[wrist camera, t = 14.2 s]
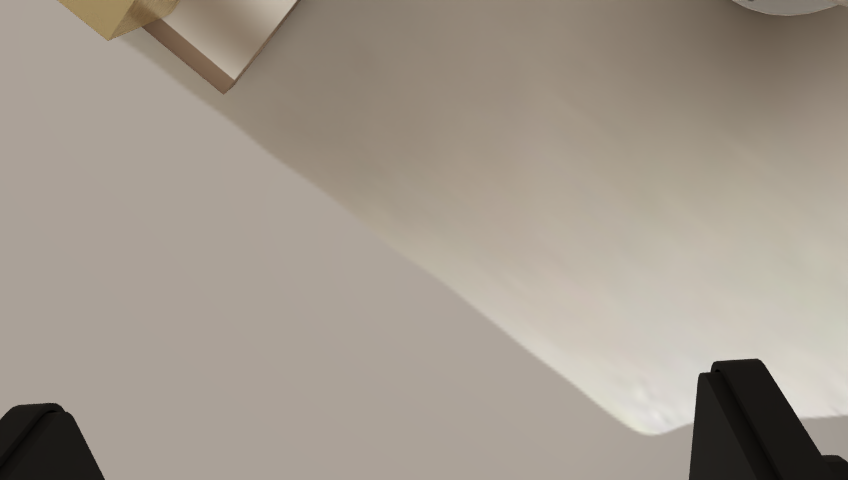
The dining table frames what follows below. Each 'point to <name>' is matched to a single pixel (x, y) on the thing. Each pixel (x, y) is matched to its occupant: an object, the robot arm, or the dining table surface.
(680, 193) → the dining table surface
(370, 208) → the dining table surface
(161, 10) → the tan wooden cube
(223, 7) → the balance beam
